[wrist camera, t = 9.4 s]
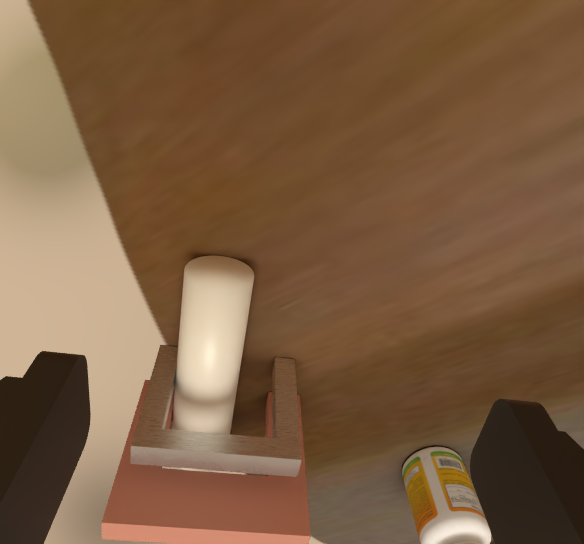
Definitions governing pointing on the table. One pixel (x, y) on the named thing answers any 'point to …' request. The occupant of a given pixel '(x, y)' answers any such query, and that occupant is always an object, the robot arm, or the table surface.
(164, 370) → the grey u-shaped panel
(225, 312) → the white long cylinder
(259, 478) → the wall
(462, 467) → the supplement bottle
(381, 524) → the table surface
